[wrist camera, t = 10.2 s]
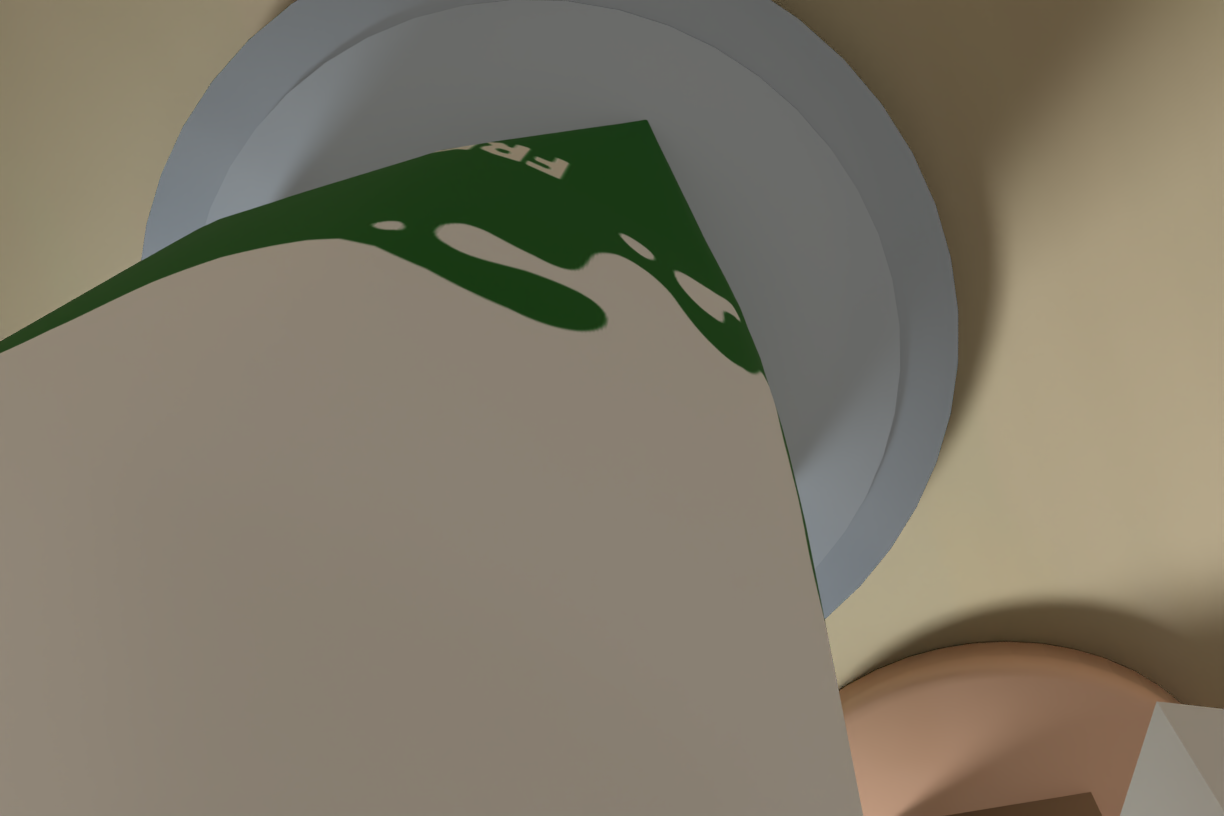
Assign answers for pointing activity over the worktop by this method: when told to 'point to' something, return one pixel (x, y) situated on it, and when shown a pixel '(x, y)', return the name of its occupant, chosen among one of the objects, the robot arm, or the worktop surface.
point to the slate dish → (703, 166)
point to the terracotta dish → (996, 729)
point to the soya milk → (414, 515)
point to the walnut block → (1045, 807)
